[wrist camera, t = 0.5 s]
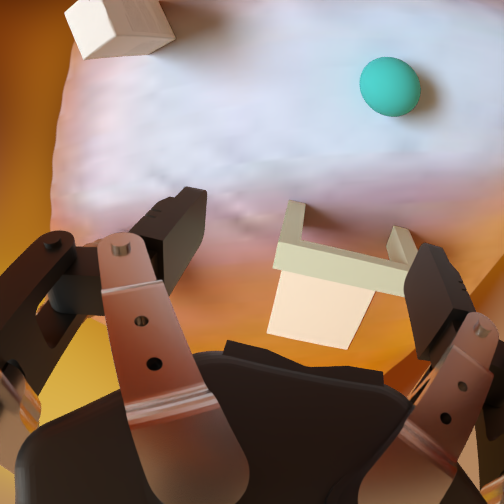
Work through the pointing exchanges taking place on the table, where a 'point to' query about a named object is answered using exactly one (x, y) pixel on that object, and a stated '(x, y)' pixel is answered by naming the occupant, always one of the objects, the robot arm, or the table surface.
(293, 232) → the bridge
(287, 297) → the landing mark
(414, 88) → the ball
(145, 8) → the skincare box
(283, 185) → the table surface
